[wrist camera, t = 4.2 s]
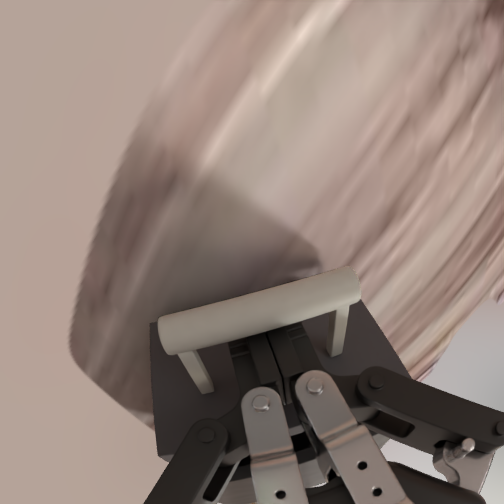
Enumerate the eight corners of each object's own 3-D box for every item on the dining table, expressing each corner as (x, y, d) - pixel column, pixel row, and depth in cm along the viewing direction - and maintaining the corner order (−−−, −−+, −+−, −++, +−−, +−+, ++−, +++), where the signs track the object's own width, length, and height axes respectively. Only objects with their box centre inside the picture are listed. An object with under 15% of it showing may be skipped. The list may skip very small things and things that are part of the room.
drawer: (113, 254, 13) (93, 411, 7) (345, 196, 14) (449, 305, 8) (208, 414, 24) (225, 492, 18) (329, 379, 26) (362, 451, 19)
